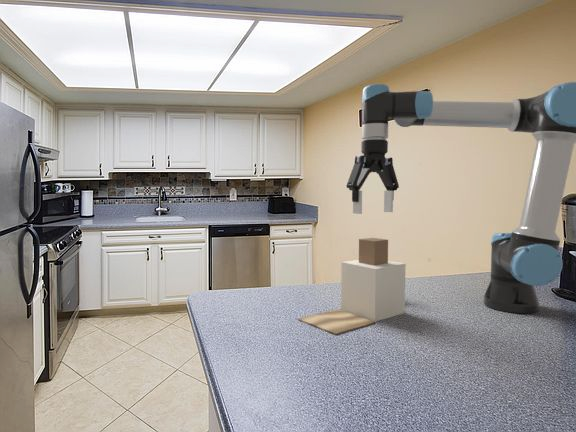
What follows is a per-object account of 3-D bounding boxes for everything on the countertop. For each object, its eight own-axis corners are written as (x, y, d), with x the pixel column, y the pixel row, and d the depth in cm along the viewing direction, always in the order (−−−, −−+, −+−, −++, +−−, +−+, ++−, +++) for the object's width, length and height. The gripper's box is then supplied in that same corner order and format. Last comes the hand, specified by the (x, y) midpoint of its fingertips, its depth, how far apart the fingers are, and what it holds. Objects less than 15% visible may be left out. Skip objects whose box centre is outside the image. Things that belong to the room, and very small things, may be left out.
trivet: (375, 323, 113) (375, 321, 113) (335, 335, 104) (335, 333, 104) (336, 310, 125) (336, 309, 125) (298, 320, 116) (298, 318, 116)
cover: (404, 313, 122) (405, 239, 121) (374, 321, 114) (375, 243, 113) (370, 303, 133) (371, 235, 131) (341, 310, 125) (341, 238, 123)
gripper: (391, 144, 131) (390, 210, 132) (334, 137, 116) (333, 213, 117) (411, 141, 125) (410, 212, 126) (354, 135, 110) (353, 215, 111)
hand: (373, 212), depth 122 cm, fingers open, 13 cm apart
